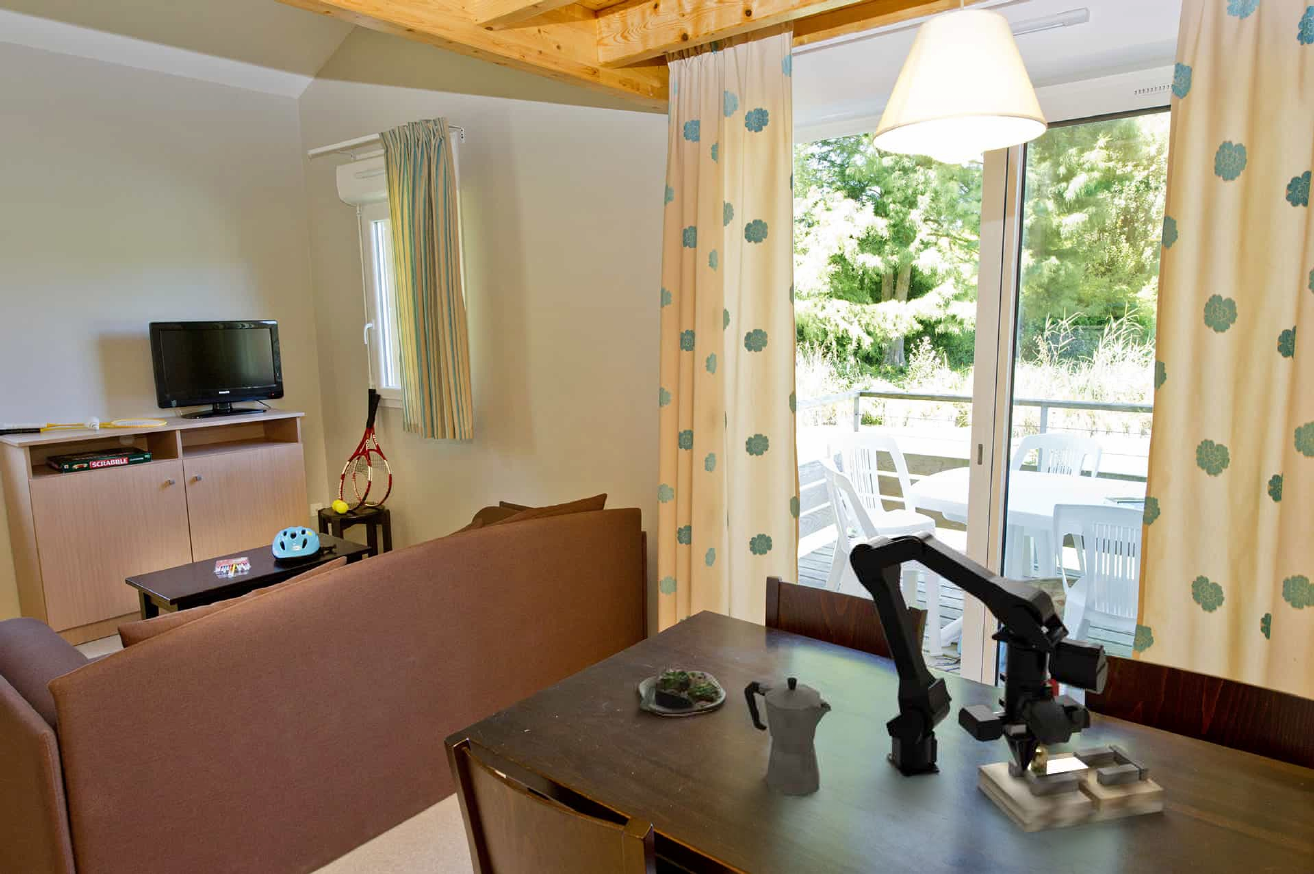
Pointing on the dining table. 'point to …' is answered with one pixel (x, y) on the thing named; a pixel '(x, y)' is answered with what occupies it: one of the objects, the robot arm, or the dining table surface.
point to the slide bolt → (1054, 766)
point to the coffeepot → (790, 734)
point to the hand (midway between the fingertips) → (1022, 769)
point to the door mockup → (1073, 791)
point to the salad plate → (674, 686)
